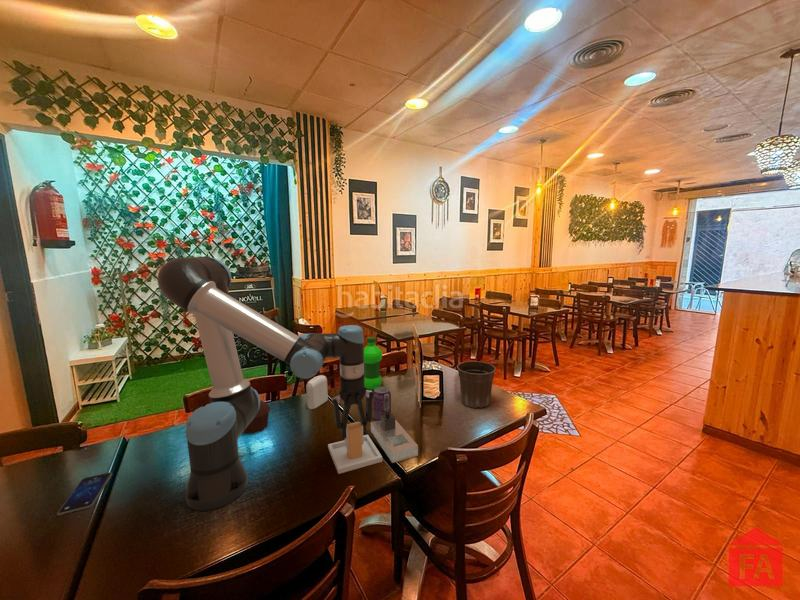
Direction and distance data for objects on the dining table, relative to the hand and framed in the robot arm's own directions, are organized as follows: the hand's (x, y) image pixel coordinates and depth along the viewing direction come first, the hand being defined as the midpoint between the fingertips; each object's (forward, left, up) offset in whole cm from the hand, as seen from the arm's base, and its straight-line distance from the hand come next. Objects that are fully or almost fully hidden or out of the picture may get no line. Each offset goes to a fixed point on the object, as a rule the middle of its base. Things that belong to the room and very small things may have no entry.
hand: (354, 444), depth 106 cm
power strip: (+14, +1, -4) cm, 15 cm away
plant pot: (+59, +15, -4) cm, 61 cm away
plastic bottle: (+23, +48, -4) cm, 53 cm away
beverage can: (+17, +19, -4) cm, 26 cm away
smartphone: (-72, +15, -5) cm, 74 cm away
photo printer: (-4, +42, -4) cm, 42 cm away
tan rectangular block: (0, 0, -4) cm, 4 cm away
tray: (0, 0, -4) cm, 4 cm away
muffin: (-29, +33, -4) cm, 44 cm away
